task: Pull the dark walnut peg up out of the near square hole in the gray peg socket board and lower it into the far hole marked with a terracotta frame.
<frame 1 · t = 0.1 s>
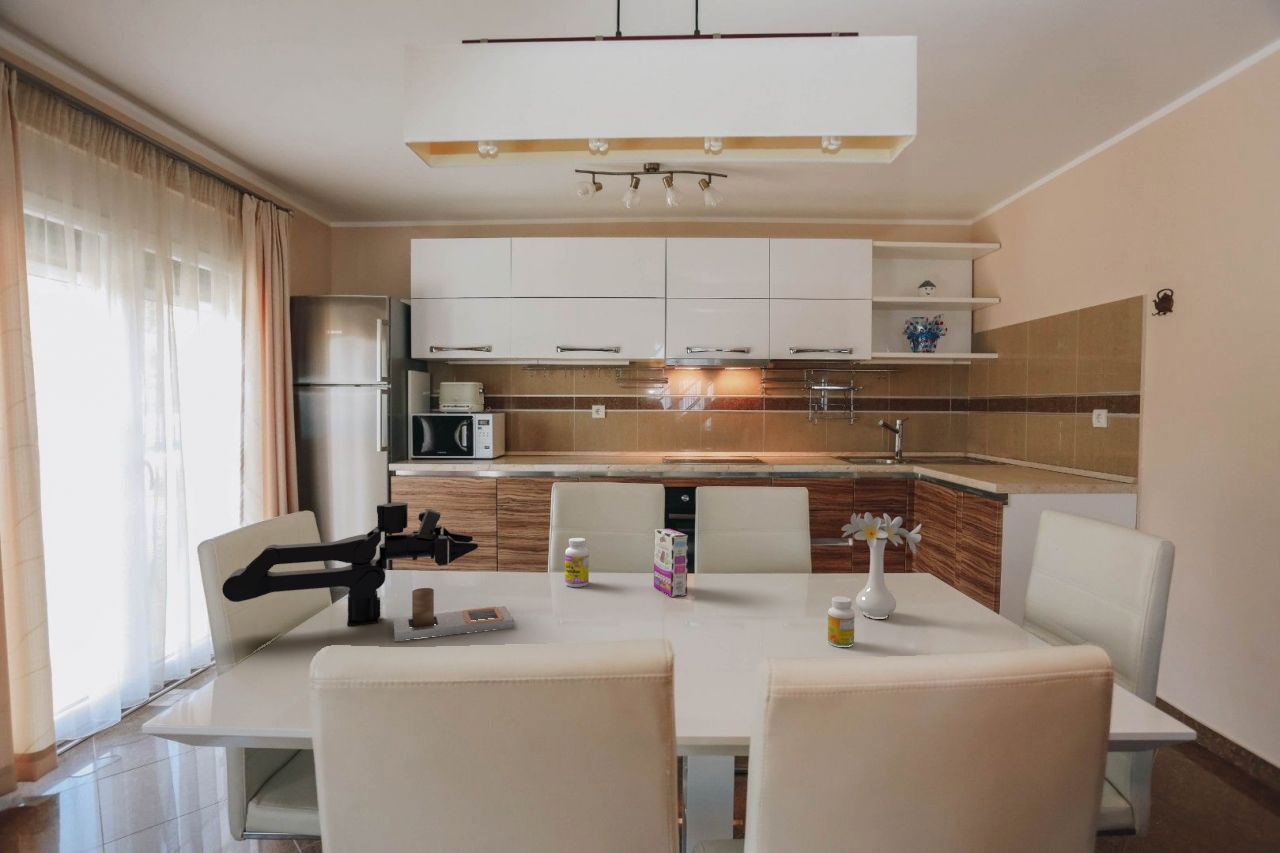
hand: (475, 542, 159), 17 cm above the table, tool horizontal, fingers open, 9 cm apart
supplement bottle 2: (840, 644, 138), on the table
walnut peg: (423, 631, 143), resting in gray peg socket board
candy bar box: (670, 592, 176), on the table
supplement bottle: (576, 585, 181), on the table
gray peg socket board: (453, 627, 146), on the table
flower vase: (877, 616, 157), on the table
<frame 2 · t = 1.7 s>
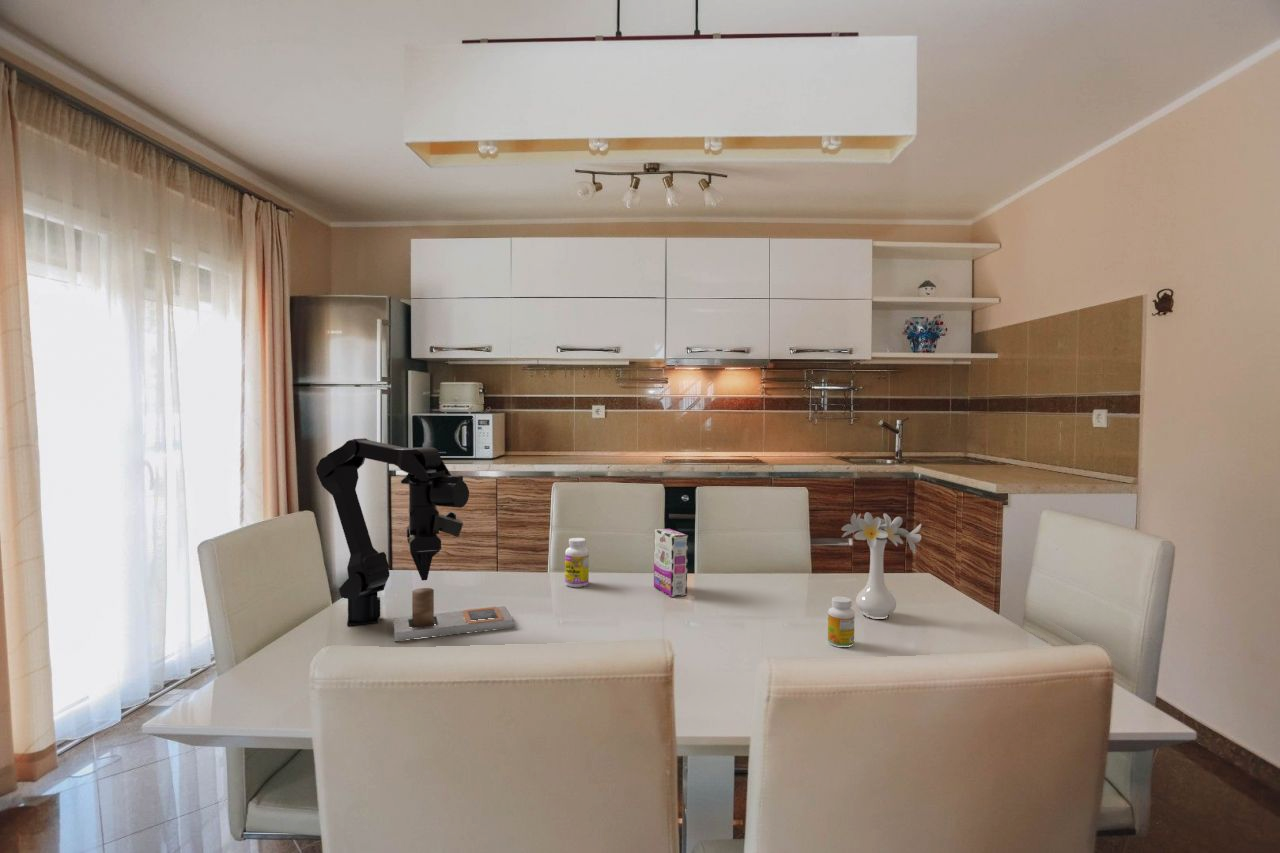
hand: (423, 574, 143), 13 cm above the table, tool pointing down, fingers open, 9 cm apart
nothing on the table moved.
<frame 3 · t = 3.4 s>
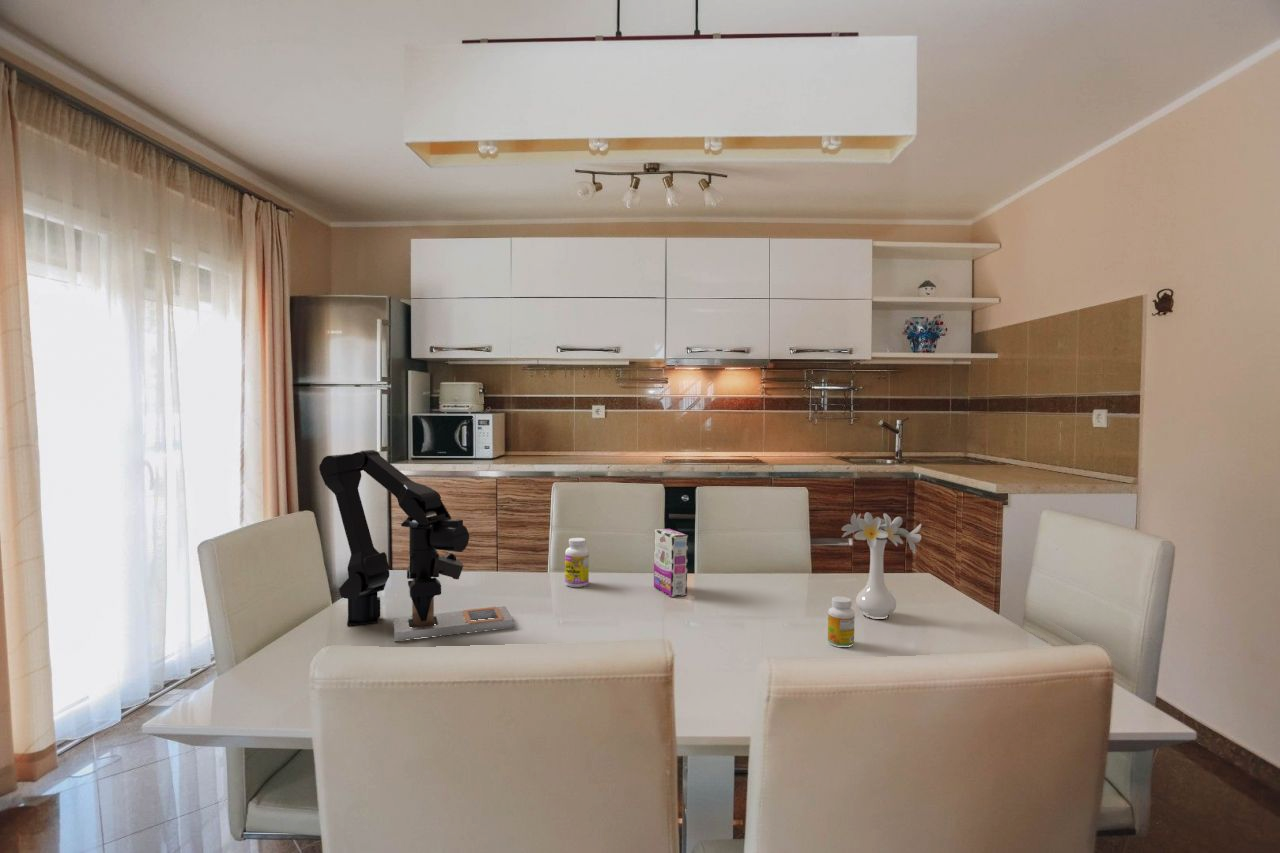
hand: (423, 617, 143), 3 cm above the table, tool pointing down, fingers closed on walnut peg, 4 cm apart
walnut peg: (423, 631, 143), resting in gray peg socket board, touching gripper
everything else where it was.
when the fingers open (4 cm above the table, at t = 8.9 s): walnut peg stays where it is, resting in gray peg socket board.
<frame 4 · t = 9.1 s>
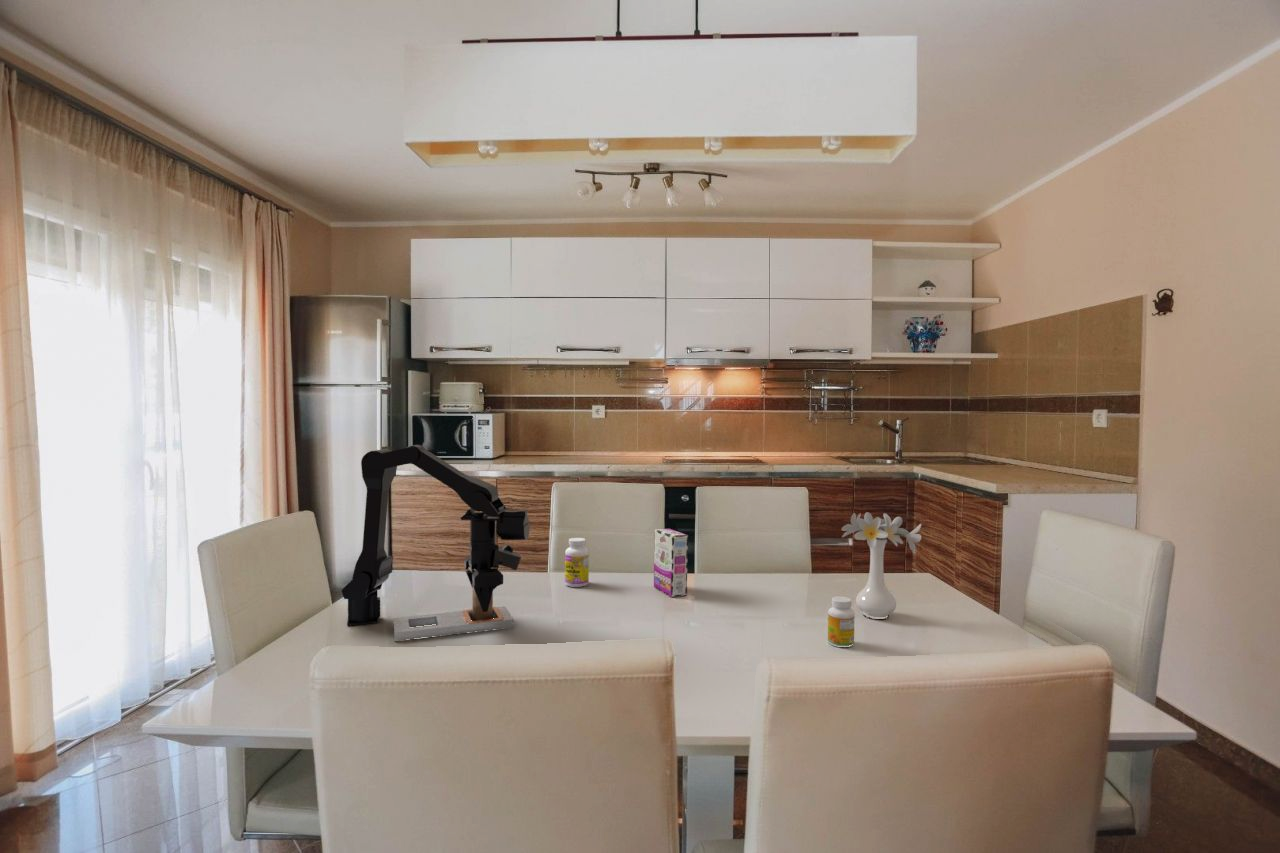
hand: (482, 606, 148), 4 cm above the table, tool pointing down, fingers open, 7 cm apart
walnut peg: (482, 624, 148), resting in gray peg socket board
everything else where it was.
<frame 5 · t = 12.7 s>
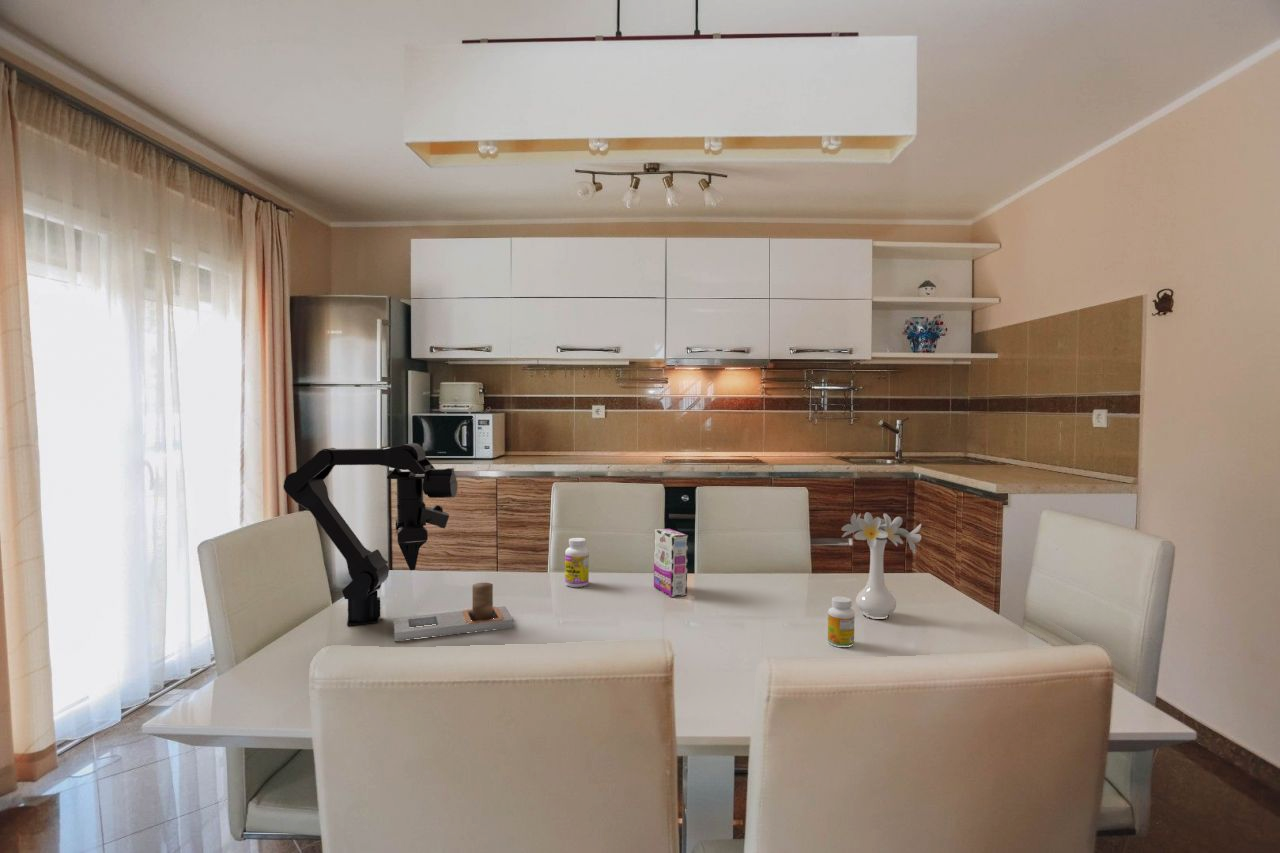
hand: (411, 565, 149), 13 cm above the table, tool pointing down, fingers open, 9 cm apart
nothing on the table moved.
at the end: walnut peg 0.0 cm from the target spot on the gray peg socket board, point 0.0 cm above the gray peg socket board's base; walnut peg tilted 0°; the gripper is holding nothing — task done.
